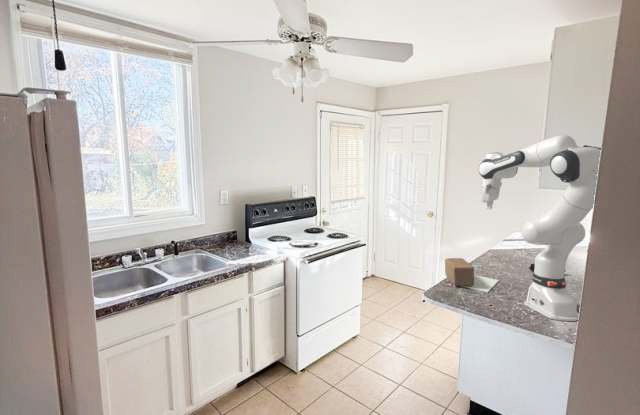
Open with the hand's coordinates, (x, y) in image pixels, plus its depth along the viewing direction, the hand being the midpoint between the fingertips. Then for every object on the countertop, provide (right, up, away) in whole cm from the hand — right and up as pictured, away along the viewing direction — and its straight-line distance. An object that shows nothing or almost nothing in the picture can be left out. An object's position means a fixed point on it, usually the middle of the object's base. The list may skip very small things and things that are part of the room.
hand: (489, 209), depth 181 cm
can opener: (+41, -38, +14) cm, 57 cm away
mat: (-7, -39, -2) cm, 40 cm away
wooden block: (-18, -35, -10) cm, 40 cm away
